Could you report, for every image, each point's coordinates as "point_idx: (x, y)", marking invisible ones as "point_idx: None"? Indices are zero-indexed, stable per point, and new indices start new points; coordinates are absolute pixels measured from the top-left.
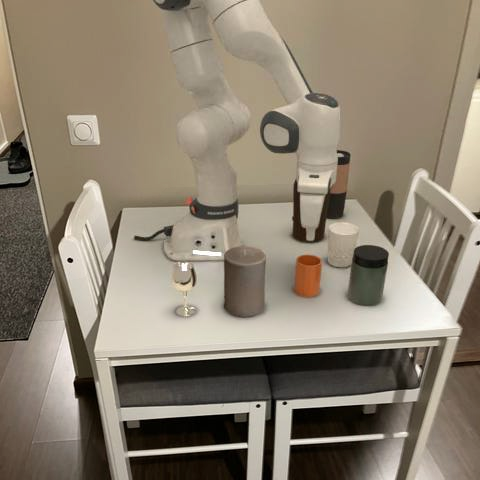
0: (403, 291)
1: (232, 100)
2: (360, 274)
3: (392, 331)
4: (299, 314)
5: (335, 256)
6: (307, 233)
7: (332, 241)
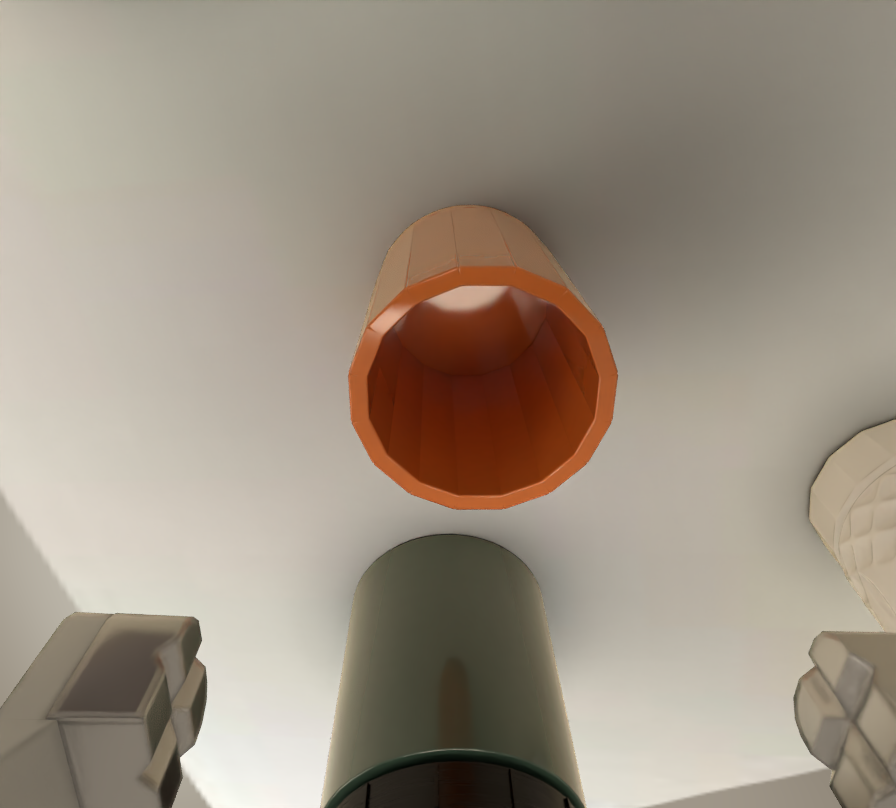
0: None
1: None
2: (337, 742)
3: None
4: (135, 269)
5: (865, 503)
6: (5, 723)
7: None
